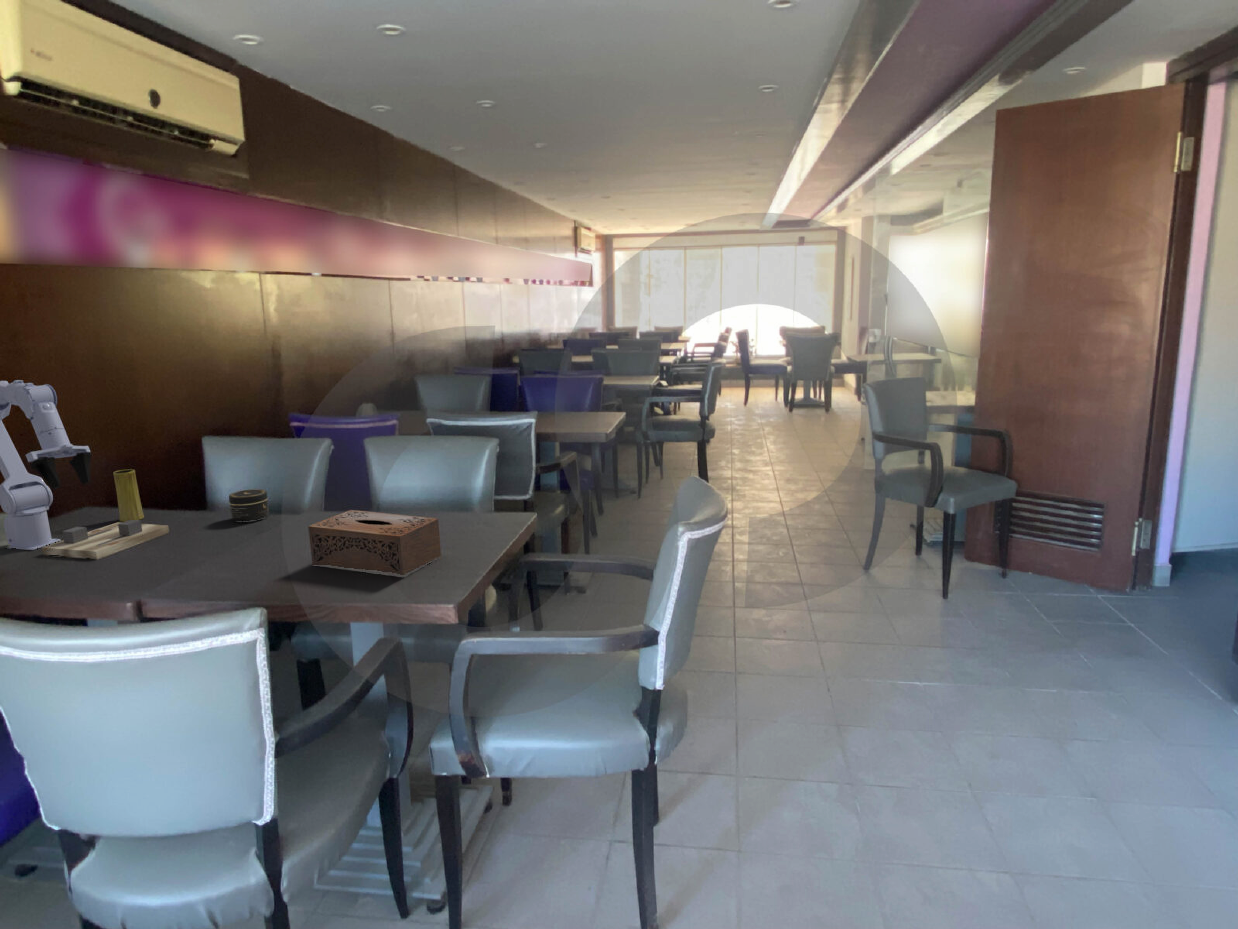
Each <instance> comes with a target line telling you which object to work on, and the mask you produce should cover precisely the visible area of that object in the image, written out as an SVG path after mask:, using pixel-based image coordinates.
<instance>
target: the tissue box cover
mask: <svg viewBox="0 0 1238 929" xmlns="http://www.w3.org/2000/svg"><path fill="white" fill-rule="evenodd" d="M439 522H440V521H439V518H436V517H425V516H417V515H416V516H415V515H405V514H395V513H385V512H375V511H366V510H364V511H363V510H356V509H355V510H354V509H349V510H346V511H344V512H341V513H339V514H337V515H334V516H330V517H328V518H326V519H323V520H320V521H318V522H315V523H313V524H310V525H308V527H307V528H308V537H309V543H310V544H309V545H310V546H309V547H310V554H311V562H312V566H313V565H331V566H338V567H344V568H354V569H362V570H363V569H365V570H377V571H382V572H392V573H397V574H400V575H405V574H406V573H408V572H411V571H413V570H414V569H416V568H419V567H420V566H422V565H425V564H426V563H428V562H430V561H433V560H434V559H435V558H438V557H440V556H441V557H442V551H441V550H442V548H441V536H440V526H439V525H440V524H439Z"/></svg>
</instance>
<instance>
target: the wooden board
mask: <svg viewBox="0 0 1238 929" xmlns="http://www.w3.org/2000/svg"><path fill="white" fill-rule="evenodd" d="M120 523H122V522H121V521H119V522H115V523H112V524H108V525H105V526H103V527H99V528H96V529H93V530H90V531H87V534H88V539H86V540H83V541H80V542H77V543H64V539H63V540H61V541H59V542H56V543H53V544H50V545H47V546H44V547H41V551H42V554H43V556H49V555H60V556H59V557H61V556H66V557H65V558H76V559H86V558H90V559H89V560H99V559H102V558H105V557H108V556H111V555H113V554H116V553H119V552H122V551H123V550H127V549H129V548H132V547H134V546H137V545H139V544H142V543H145V542H148V541H150V540H154V539H156V538H158V537H161V536H164V535H168V534H169V533H170V528H169V525H167V524H166V525H165V524H152V523H151V524H150V523H149V524H148V523H141V525H142V532H139V533H136V534H134V535H131V536H124V535H120V534H119V528H118V524H120Z"/></svg>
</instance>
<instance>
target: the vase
mask: <svg viewBox="0 0 1238 929" xmlns="http://www.w3.org/2000/svg"><path fill="white" fill-rule="evenodd" d="M113 478H114V484H115V491H116V497H117V498H116V499H117V506H118V512H119V522H121V523H123V522H126V521H129V520H142V519H144V518H145V515H144V512H143V507H142V502H141V498H140V493H139V492H140V491H139V487H138V482H137V476H136V470H135V469H132V468H130V469H129V468H128V469H121V470H120V469H119V470H116V471H113Z"/></svg>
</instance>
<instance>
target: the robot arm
mask: <svg viewBox="0 0 1238 929" xmlns="http://www.w3.org/2000/svg"><path fill="white" fill-rule="evenodd" d="M57 404H58V396H57V393H56V390H55V389H54V388H53V386H52V385H50V384H47V383H44V384H43V385H41V384H40V385H34V383H32V382H26V383H24V380H21V379H17V380H13V382H10V383H9V382H8V381H7V380H0V473H1V474H2V477H3V479H4V481H3V482H2V483H0V506H1V507H0V508H1V509H2V511H3V512H4V513H6V514H7V515H6V516H5V519H4V520H3V526H4V532H5V538H6V541H7V542H8V543H7V545H8V544H10V545H11V546H10V547H9V548H8V549H11V548H16V549H15V550H26V551H34V550H37V548H38V549H40V548H41V549H42V547H45V546H46V545H47V546H48V545H49V544H50V545H51V544H54V543H55V542H56V543H57V542H58V541H59V542H60V541H62V540H61V539H60V538H52V533H51V529H50V523H49V517H48V512H47V511H49V510H50V506H51V505H52V503H53V500H54V498H53V497H54V496H53V493H52V490H57V489H59V488H60V487H62V484H61V480H60V477H59V475H58V471H57V468H56V467H57V466H56V459H61V458H70V457H72V459H71V460H69V461H68V463H69V464H70V466H71V467H72V468H73V470H74V471H75V474H76V475H77V477H78V479H79V481H80V483H81V485H82V486H83V485H84V486H85V485H87V484H89V483H91V474H90V473H91V471H90V466H91V460H92V456H93V455H92V452H91V450H90V447H89V445H73V443H71V442H70V440H69V437H68V434H67V432H66V429H65V427H64V424H63V422H62V419H61V416H60V415H59V411H58V409H57ZM12 405H13V406H17V407H19V408H20V409H21V411H22V412H23V413H24V415H25V417H26V418H27V419H29V421H30V423H31V425H32V428H33V429H34V433H35V435H36V438H37V441H38V442H39V445H40V447H41V448H40V449H41V450H36V451H34V450H33V451H30V452H28V453H26V454H25V457H26V459H27V461H28V462H27V463H30V464H29V465H30V468H31V469H32V470H34V472H37V473H38V474H39V475H40V476H38V475H35V474H33V473H32V474H31V473H29V472H28V470H27V469H26V467H25V465H24V463H23V461H22V459H21V456H20V455H19V453H18V450H17V449H16V447H15V445H14V443H13V441H12V438H11V436H10V435H9V432H8V431H7V429H6V427H5V425H4V423H3V419H5V418H6V417H8V416H9V415H10V411H11V409H12V408H11V407H12ZM43 479H44V480H45V481H46V482H47V484H48V485H49V486H48V485H47V484H46V483H45V481H44V480H43ZM51 489H52V490H51Z"/></svg>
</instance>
